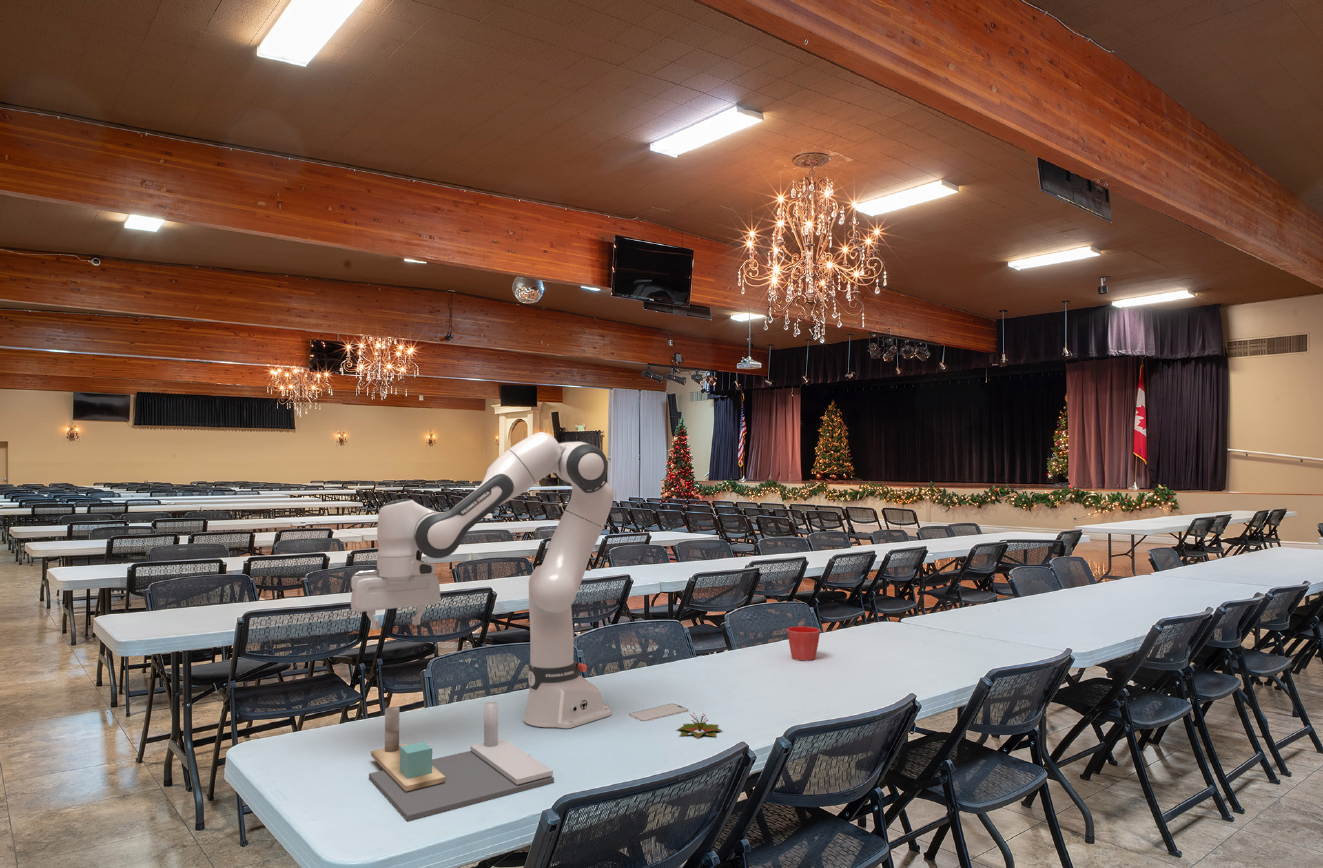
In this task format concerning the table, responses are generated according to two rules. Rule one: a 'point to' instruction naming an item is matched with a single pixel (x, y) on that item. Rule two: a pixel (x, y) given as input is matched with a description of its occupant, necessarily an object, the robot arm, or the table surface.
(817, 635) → the flower pot
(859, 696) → the table surface
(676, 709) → the smartphone
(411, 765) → the teal block
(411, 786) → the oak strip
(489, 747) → the pale board with post
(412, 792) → the lane mat
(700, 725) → the lily flower
